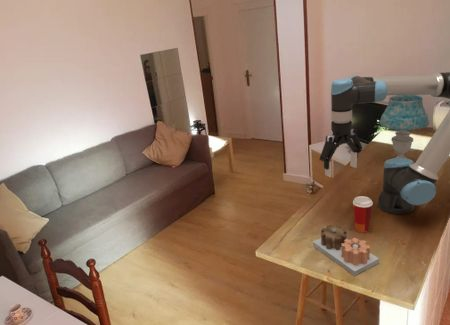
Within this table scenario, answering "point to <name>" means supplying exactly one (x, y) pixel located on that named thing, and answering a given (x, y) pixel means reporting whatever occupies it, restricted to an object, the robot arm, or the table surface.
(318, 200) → the table surface
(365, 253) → the gear
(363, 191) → the table surface
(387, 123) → the table lamp
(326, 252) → the gear board
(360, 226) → the paper cup
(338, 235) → the gear
